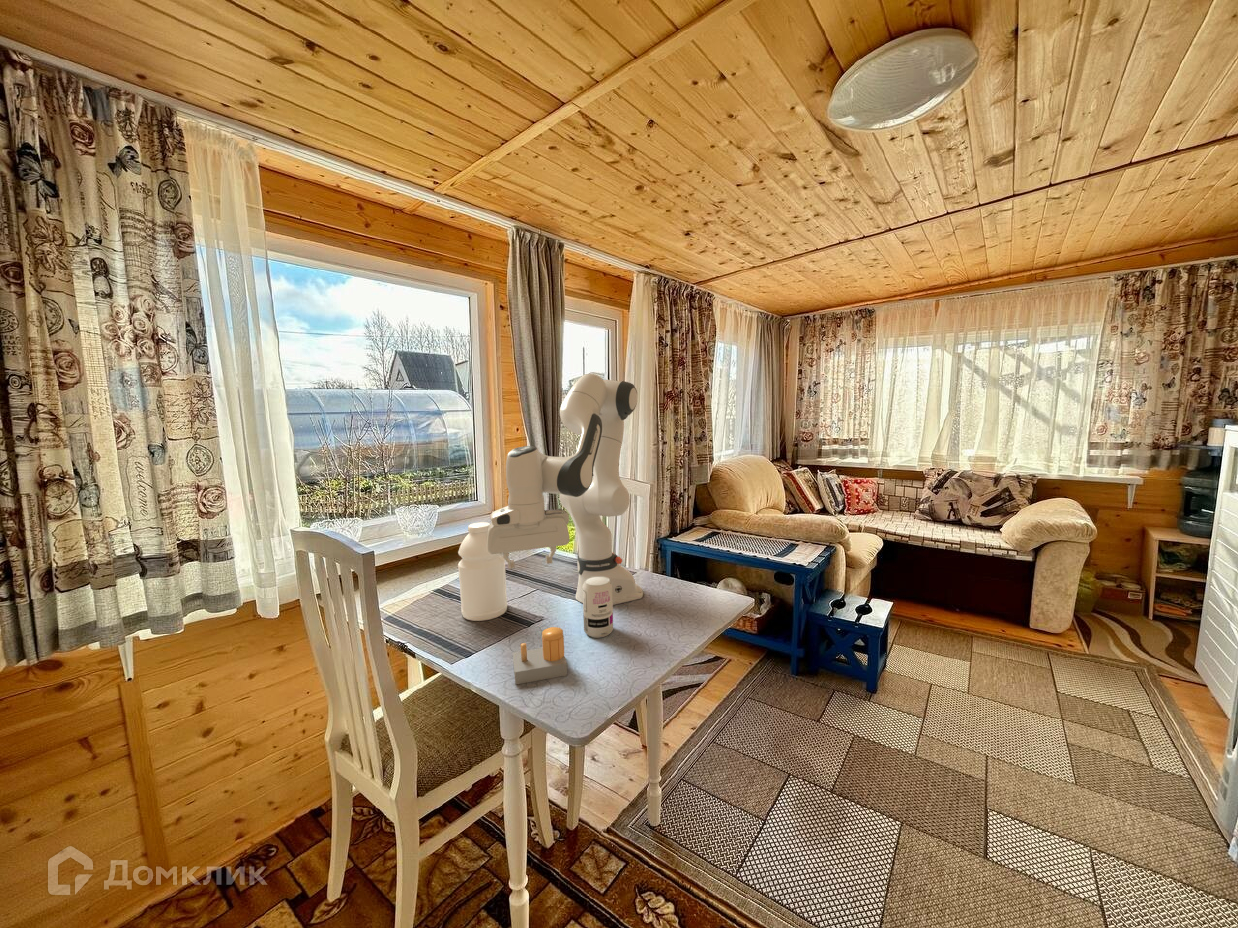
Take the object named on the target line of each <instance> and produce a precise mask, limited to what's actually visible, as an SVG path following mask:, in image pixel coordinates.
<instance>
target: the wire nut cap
mask: <svg viewBox="0 0 1238 928" xmlns="http://www.w3.org/2000/svg"><path fill="white" fill-rule="evenodd" d="M564 638H565V636H564V630H563V629H562V628H561V627H556V626H552V627H551V626H550V627H548V628H545V629H544V630H543V631H542V632H541V641H542V642H541V643H542V647H541V648H543V658H544V660H548V661H556V660H560V659H561V658H562V657H564V656H565V641H564V640H565V639H564Z"/></svg>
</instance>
